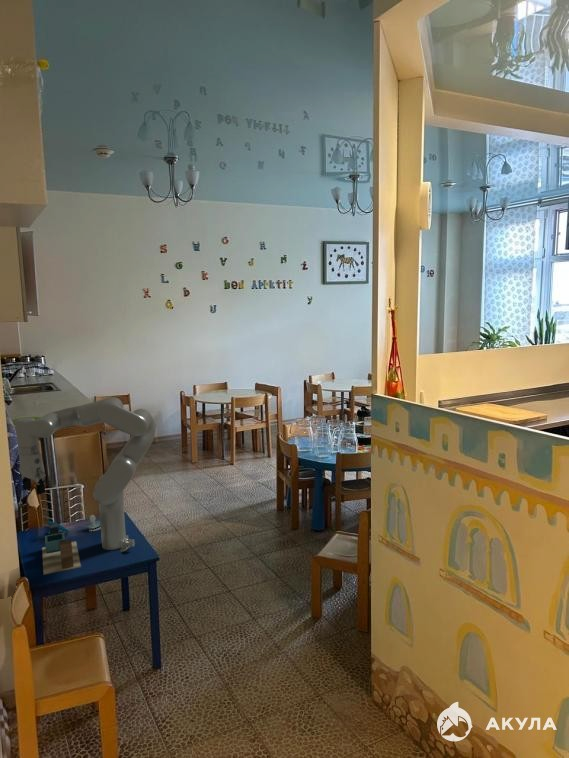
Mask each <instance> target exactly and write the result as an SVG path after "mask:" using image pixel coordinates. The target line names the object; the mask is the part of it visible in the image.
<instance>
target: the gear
mask: <svg viewBox="0 0 569 758" xmlns="http://www.w3.org/2000/svg"><path fill="white" fill-rule="evenodd" d="M47 523H48V524H49V525H54V524H57V525H58V532H60V531H62V532H63V533H65V534H70V532H71V531H70V529H67V528H66V527H64V526H62V524H59V523H56V522H54V521H52V520H48V521H47ZM47 534H48V535H49V534H50V531H48V533H47Z"/></svg>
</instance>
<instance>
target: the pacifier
mask: <svg viewBox="0 0 569 758" xmlns="http://www.w3.org/2000/svg"><path fill="white" fill-rule="evenodd" d="M88 520H89V522H90V525H85V526H84V528H86V529H88V532H91V533H92V531H93V532H96V531H100V530H101V526H100V519H98V520H96V516H95V514H91V515H89V517H88ZM99 526H100V527H99ZM97 527H98V528H97ZM95 528H96V529H95ZM92 529H94V530H92Z"/></svg>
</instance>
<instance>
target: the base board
mask: <svg viewBox="0 0 569 758" xmlns="http://www.w3.org/2000/svg"><path fill="white" fill-rule="evenodd" d="M71 543H72V554H73V565H74V567H69V568H64V569H62V562H61V551H58V552H53V553H48V554H46V546H44V547H42V548H41V552H42V553H41V554H42V569H43V570H42V571H43V576H45V575H50V574H53V573H59V572H64V571H69V570H75V569H78V568H82V564H81V561H80V554H79V550H78V543H77V541H76V540H75V541H71Z"/></svg>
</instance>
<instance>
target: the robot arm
mask: <svg viewBox="0 0 569 758" xmlns="http://www.w3.org/2000/svg"><path fill="white" fill-rule="evenodd" d="M99 423H104V424H106V425H107V426H110V427H111V428H114V429H116V430H118V431H120V432H123V433H125V434H127V435H129V436H130V437H129V439H128V440H127V441H126V443H125V444H124V446H123V448H121V450H120V452H119V453H118V454H117V455H115V457H114V458H113V460H112V462H111V464H110V466H109V467H108V468H107V469H106V472H105V473H104V474H102V475H101V476H100V477H99V479H98V480H97V482H96V484H95V486H94V488H93V493H92V496H93V499H94V501H95V502H96V503H97V504H98V511H99V521H100V526H101V529H100V537H101V547H102V549H103V550H106V551H107V550H108V551H114V550H118V549H119V550H120V552H121V553H124V552H125V551H127V550H129V548H131V547H135V544H136V543H135V539H131V538H129V534H126V533H127V532H126V531H127V530H126V520H125V504H124V490H125V489H126V487H127V486H128V485H129V484H130V482H131V480H132V479H133V477H134V475H135V473H136V470H137V469H138V466H139V464H140V462H141V460H142V459H143V458H144V456H145V455H146V453H147V452H148V450H149V449H150V447H151V445H152V443H153V441H154V439H155V435H156V423H155V420H154V418H153V416H152V414H151V413H150V412H149V411H148V410H147V409H144V408H138V409H136V410H133V411H130V410H128V409H127V408H124V405H123V402H122V400H120V398H118V397H113V396H112V397H107V398H103V399H99V400H95V401H93V402H89V403H85V404H81V405H76V406H72V407H65V408H62V409H59V410H56V411H52V412H48V413H46V414H44V415H43V416H42V417H41V418H38V419H35V418H34V417H21V418H19V419H16V420H15V423H14V427H15V435H16V443H17V450H18V457H19V467H18V472H19V475H20V477H21V478H20V479H21V483H22V489H23V491H26V490H31V489H32V482H31V481H32V480H34V482H35V483H36V485H35V489H36V495H37V496H38V495H42V494H45V493H46V488H45V487H46V485H45V483H46V475H47V474H46V473H45V472H46V471H45V466H44V461H43V457H42V454H41V449H40V442H39V438H41V439H42V438H43V439H44V438H49V437H52V436H53V434H54V433H55V432H56V431H58V430H61V429H65V428H68V427H72V426H80V427H90V426H92V425H95V424H99Z"/></svg>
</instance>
